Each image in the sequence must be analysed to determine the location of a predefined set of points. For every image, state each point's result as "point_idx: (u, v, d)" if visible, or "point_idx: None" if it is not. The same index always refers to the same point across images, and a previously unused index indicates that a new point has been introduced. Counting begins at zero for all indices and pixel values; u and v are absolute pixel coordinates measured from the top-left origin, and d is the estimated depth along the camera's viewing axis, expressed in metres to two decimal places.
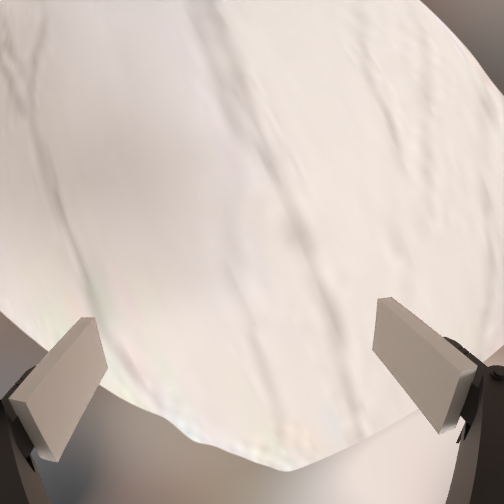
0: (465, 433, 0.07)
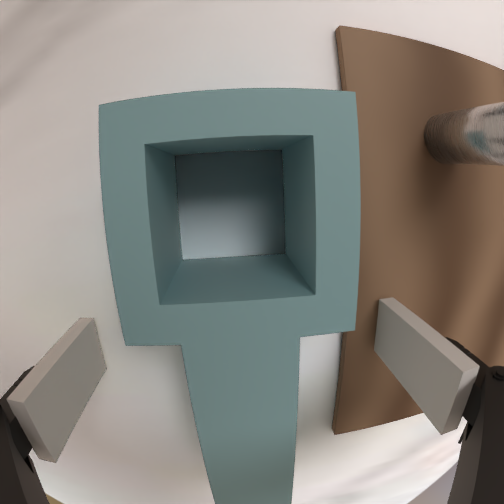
0: (467, 433, 0.07)
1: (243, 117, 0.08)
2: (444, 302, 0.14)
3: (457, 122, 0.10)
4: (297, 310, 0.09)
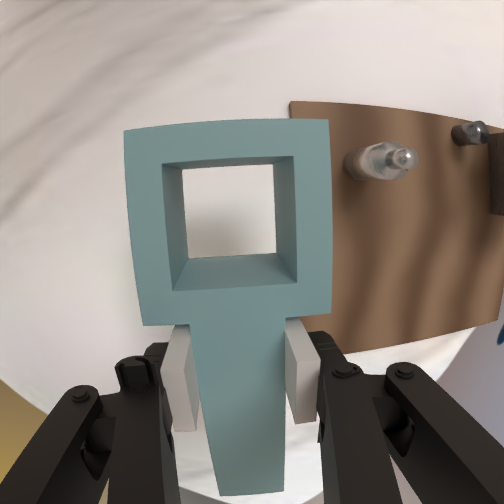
0: (322, 434, 0.09)
1: (238, 143, 0.10)
2: (365, 267, 0.25)
3: (355, 156, 0.21)
4: (283, 295, 0.11)
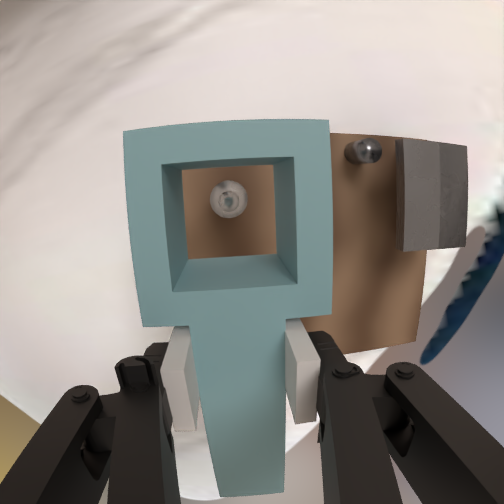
0: (322, 434, 0.09)
1: (238, 143, 0.10)
2: None
3: None
4: (283, 296, 0.11)
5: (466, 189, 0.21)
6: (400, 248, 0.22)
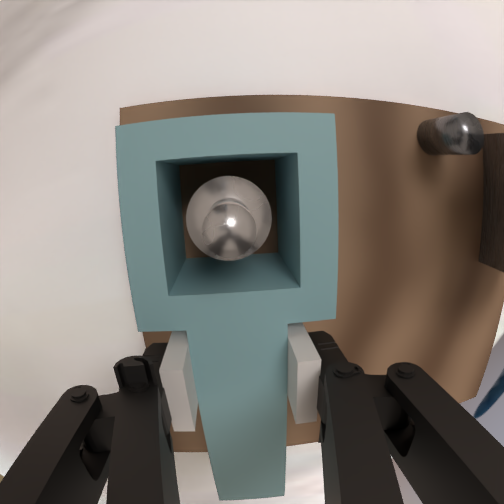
0: (323, 434, 0.09)
1: (238, 138, 0.09)
2: None
3: None
4: (285, 300, 0.11)
5: None
6: None
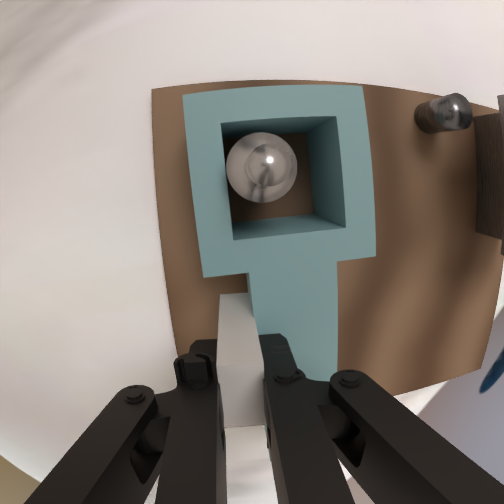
0: (270, 440, 0.09)
1: (289, 104, 0.11)
2: None
3: None
4: (334, 239, 0.12)
5: None
6: None
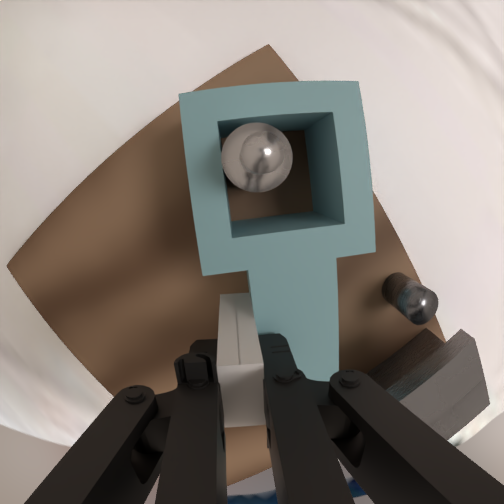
0: (270, 440, 0.09)
1: (285, 101, 0.11)
2: (134, 266, 0.17)
3: None
4: (333, 235, 0.12)
5: (446, 439, 0.14)
6: None
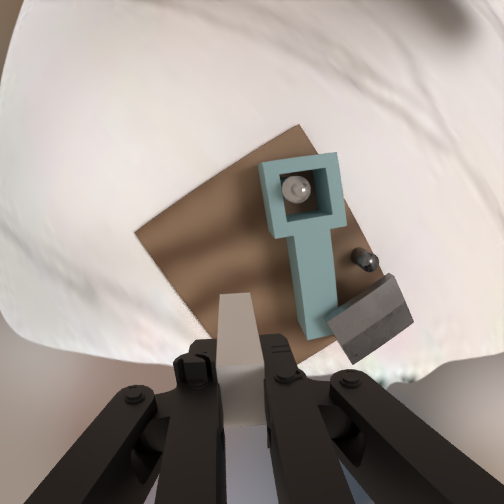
0: (270, 440, 0.09)
1: (306, 164, 0.28)
2: (223, 235, 0.34)
3: (287, 176, 0.31)
4: (328, 219, 0.29)
5: (388, 339, 0.31)
6: (326, 319, 0.30)
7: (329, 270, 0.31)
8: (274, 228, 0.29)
